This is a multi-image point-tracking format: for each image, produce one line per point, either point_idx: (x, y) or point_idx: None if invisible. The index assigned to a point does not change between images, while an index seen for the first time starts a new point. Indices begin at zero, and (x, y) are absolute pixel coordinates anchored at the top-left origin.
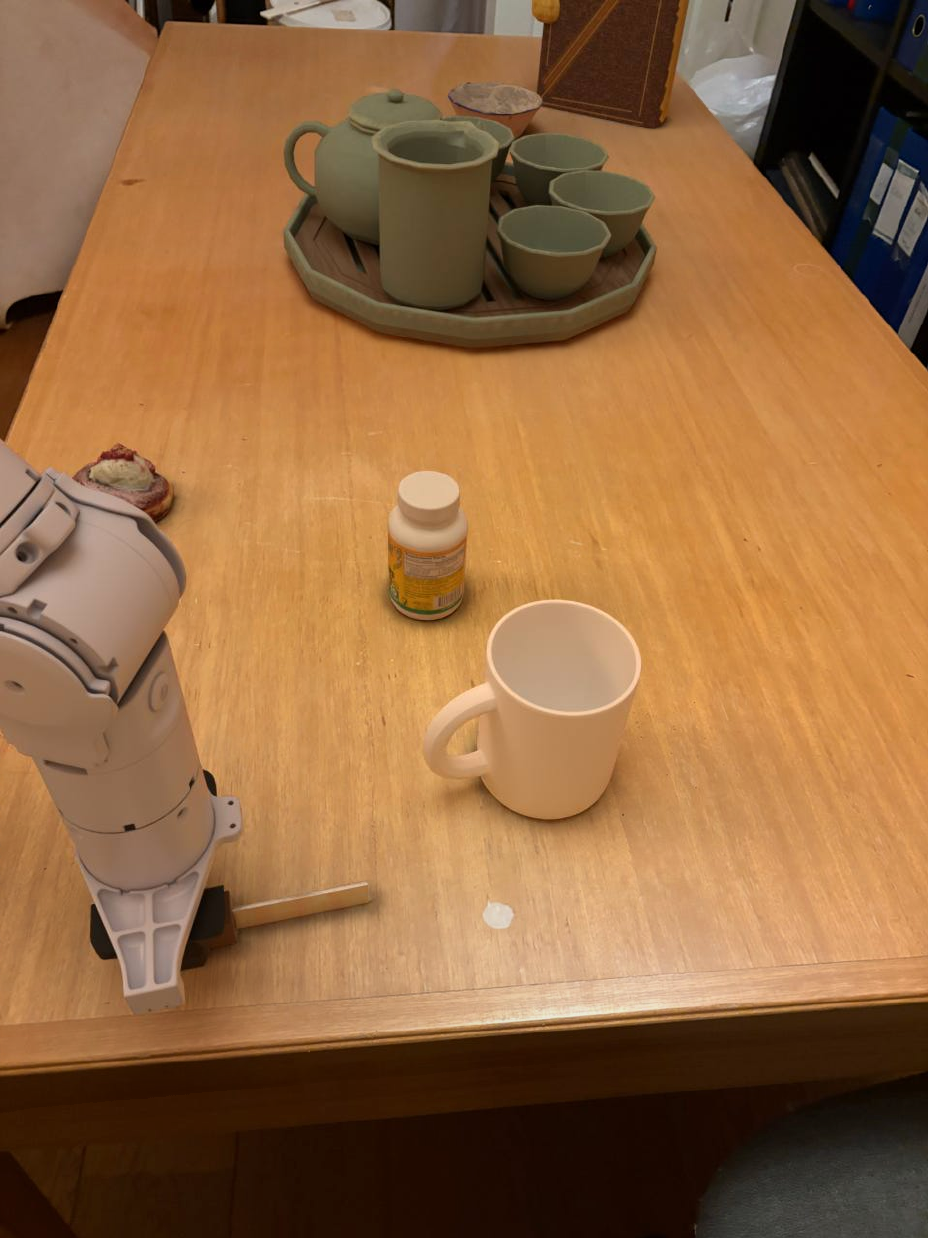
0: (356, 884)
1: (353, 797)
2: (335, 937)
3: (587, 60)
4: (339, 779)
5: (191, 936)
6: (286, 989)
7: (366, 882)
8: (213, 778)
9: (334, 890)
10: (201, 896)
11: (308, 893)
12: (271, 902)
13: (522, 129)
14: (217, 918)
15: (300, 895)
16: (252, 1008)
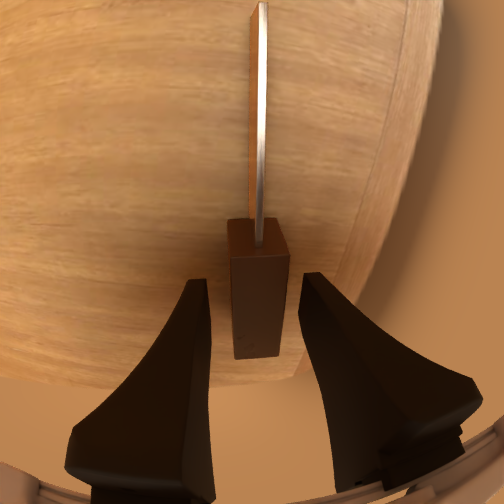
0: (263, 21)
1: (54, 42)
2: (304, 78)
3: None
4: (24, 69)
5: (460, 423)
6: (358, 161)
7: (263, 3)
8: (84, 472)
9: (266, 64)
10: (475, 483)
11: (258, 114)
12: (262, 185)
13: None
14: (469, 409)
15: (259, 130)
16: (364, 205)
